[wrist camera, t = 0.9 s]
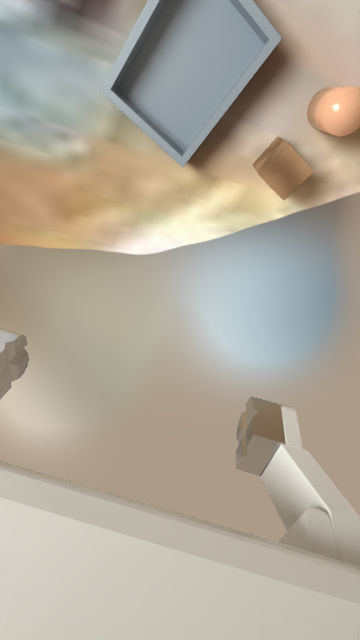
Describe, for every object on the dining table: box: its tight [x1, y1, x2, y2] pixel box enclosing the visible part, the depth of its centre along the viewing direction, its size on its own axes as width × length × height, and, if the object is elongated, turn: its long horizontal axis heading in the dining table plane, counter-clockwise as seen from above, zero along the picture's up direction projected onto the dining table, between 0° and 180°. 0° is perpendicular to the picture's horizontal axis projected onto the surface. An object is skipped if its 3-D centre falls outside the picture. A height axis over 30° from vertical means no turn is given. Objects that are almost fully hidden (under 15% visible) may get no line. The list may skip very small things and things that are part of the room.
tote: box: [100, 0, 282, 167], centre depth 40 cm, size 18×14×5 cm
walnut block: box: [253, 137, 314, 200], centre depth 45 cm, size 5×5×8 cm
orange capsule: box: [307, 87, 360, 136], centre depth 41 cm, size 5×5×8 cm
